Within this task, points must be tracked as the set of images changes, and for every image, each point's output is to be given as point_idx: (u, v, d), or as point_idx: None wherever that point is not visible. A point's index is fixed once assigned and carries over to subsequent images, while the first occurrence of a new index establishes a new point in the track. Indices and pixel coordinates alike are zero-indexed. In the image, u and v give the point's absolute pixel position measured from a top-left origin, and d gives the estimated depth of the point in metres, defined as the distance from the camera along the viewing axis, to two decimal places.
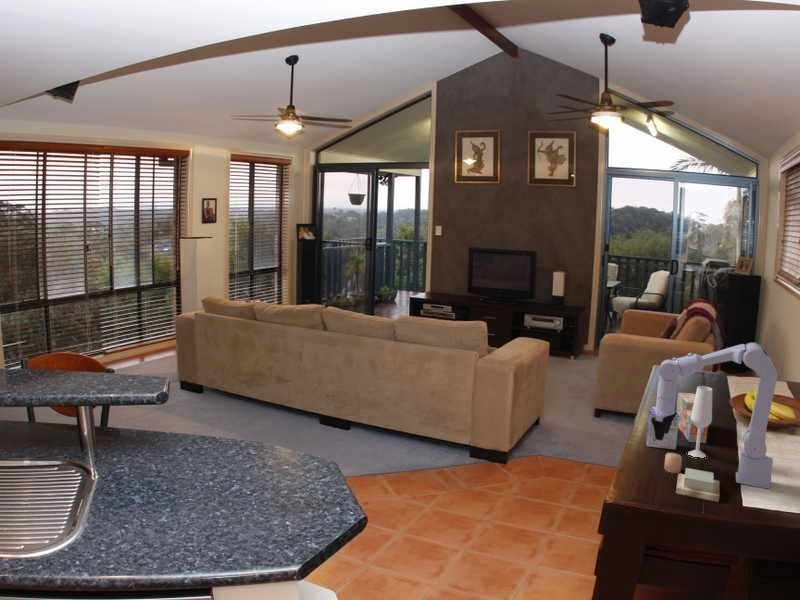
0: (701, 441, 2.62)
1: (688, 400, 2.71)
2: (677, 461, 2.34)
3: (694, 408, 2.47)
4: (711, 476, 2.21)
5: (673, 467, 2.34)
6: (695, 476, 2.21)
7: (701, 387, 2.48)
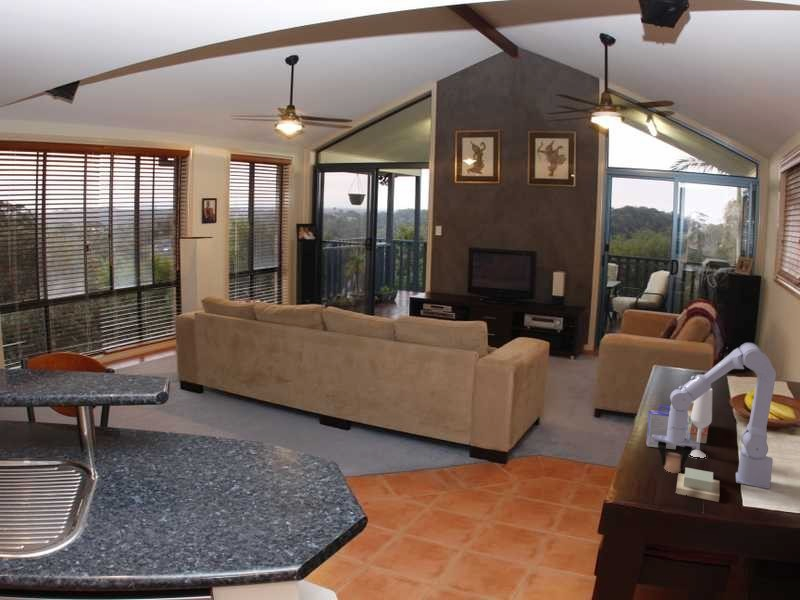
0: (701, 441, 2.62)
1: None
2: (677, 461, 2.34)
3: (694, 408, 2.47)
4: (711, 476, 2.22)
5: (673, 466, 2.34)
6: (694, 475, 2.21)
7: None
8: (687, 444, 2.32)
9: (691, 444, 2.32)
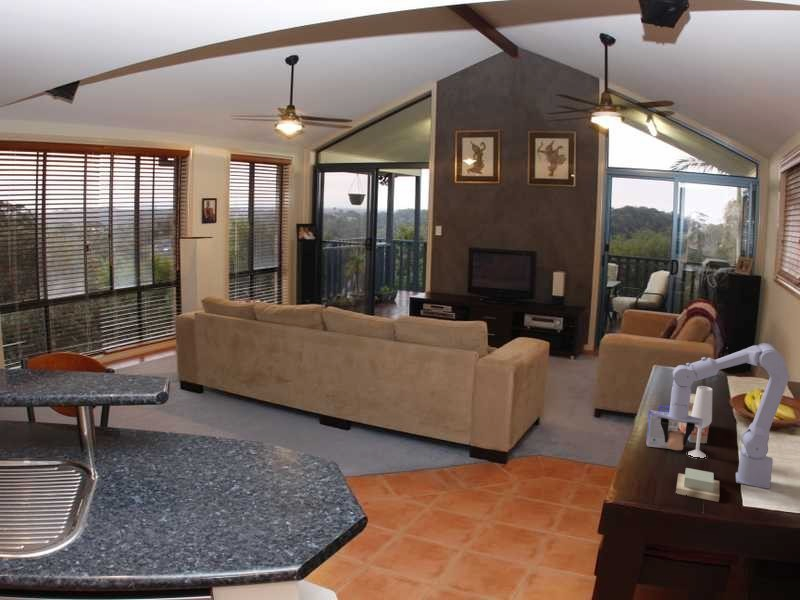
0: (702, 441, 2.62)
1: None
2: (680, 438, 2.33)
3: (694, 408, 2.47)
4: (711, 476, 2.22)
5: (675, 443, 2.33)
6: (695, 476, 2.21)
7: (701, 387, 2.48)
8: (690, 420, 2.31)
9: (694, 420, 2.31)
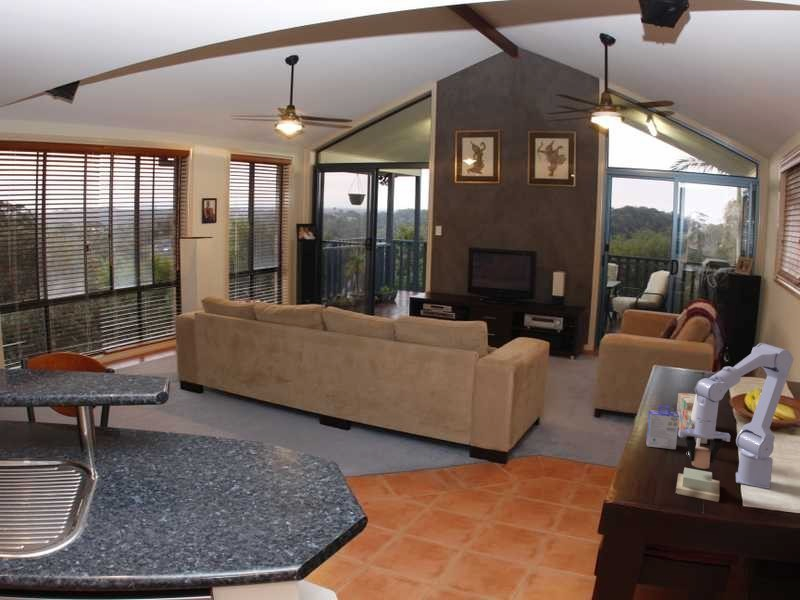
0: (702, 442, 2.62)
1: (689, 400, 2.71)
2: (708, 455, 2.19)
3: (694, 408, 2.47)
4: (709, 476, 2.22)
5: (704, 461, 2.19)
6: (693, 476, 2.22)
7: None
8: (718, 436, 2.18)
9: (722, 436, 2.18)
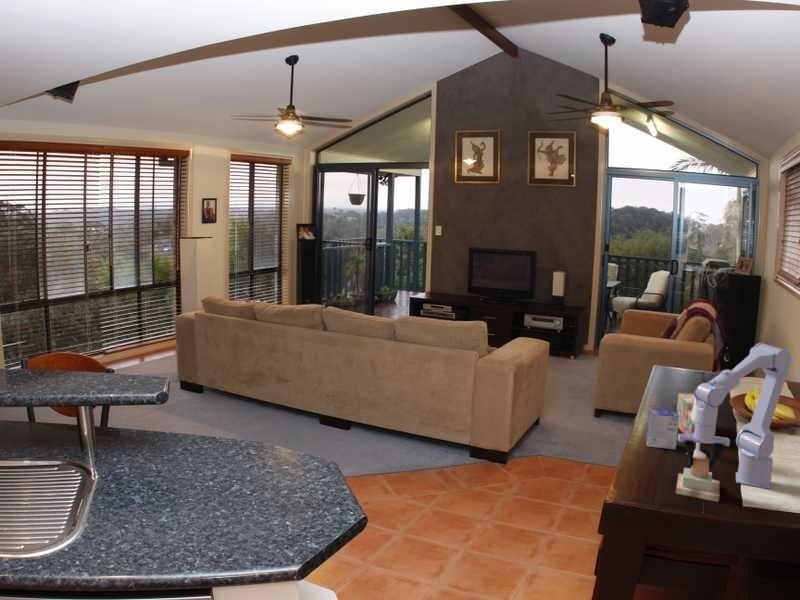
0: None
1: (689, 401, 2.71)
2: (707, 465, 2.20)
3: (694, 408, 2.47)
4: (709, 476, 2.22)
5: (703, 471, 2.20)
6: (693, 476, 2.21)
7: None
8: (718, 441, 2.18)
9: (721, 441, 2.18)
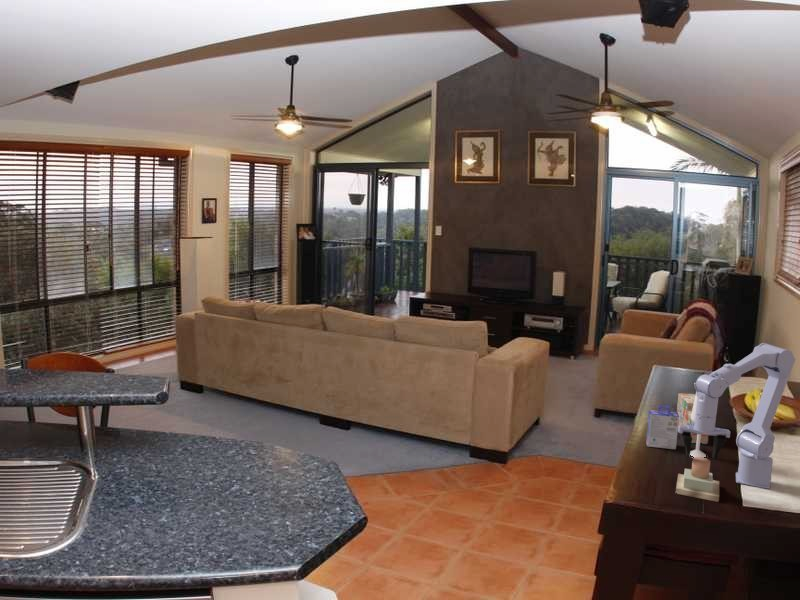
0: (703, 442, 2.61)
1: (689, 401, 2.71)
2: (708, 466, 2.20)
3: (694, 408, 2.47)
4: (710, 477, 2.21)
5: (703, 472, 2.20)
6: (694, 477, 2.21)
7: None
8: (718, 433, 2.18)
9: (722, 432, 2.18)
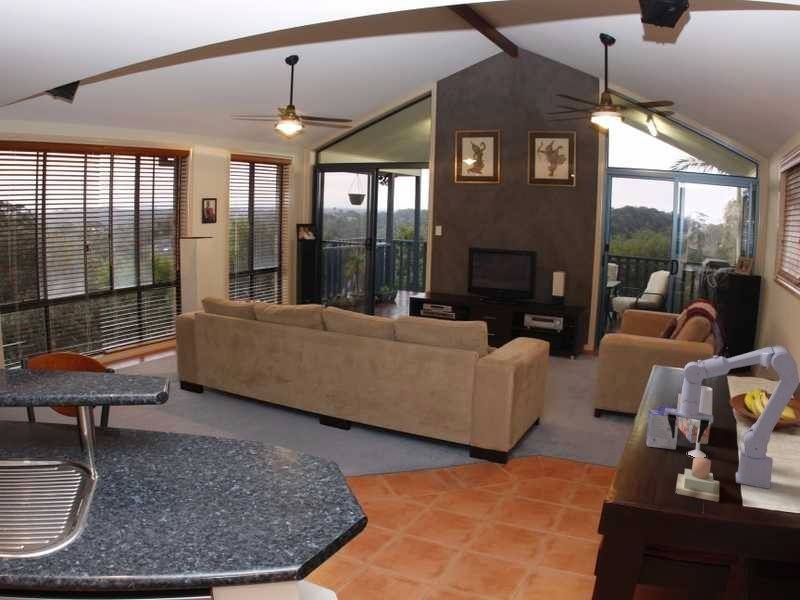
0: (703, 442, 2.61)
1: None
2: (708, 466, 2.19)
3: None
4: (711, 477, 2.21)
5: (704, 472, 2.19)
6: (695, 477, 2.21)
7: None
8: (701, 417, 2.31)
9: (705, 417, 2.31)
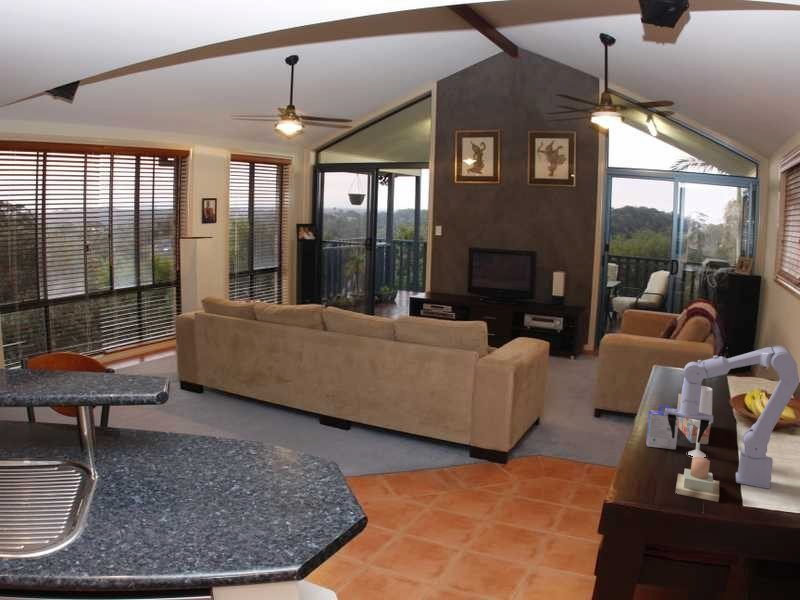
0: (703, 442, 2.61)
1: None
2: (707, 466, 2.19)
3: None
4: (710, 477, 2.21)
5: (703, 472, 2.19)
6: (694, 477, 2.21)
7: None
8: (701, 417, 2.31)
9: (705, 417, 2.31)
